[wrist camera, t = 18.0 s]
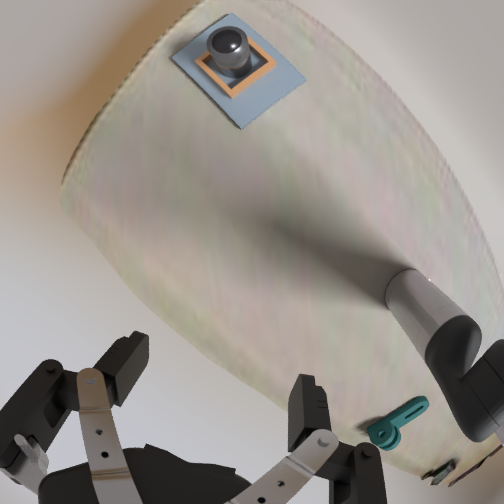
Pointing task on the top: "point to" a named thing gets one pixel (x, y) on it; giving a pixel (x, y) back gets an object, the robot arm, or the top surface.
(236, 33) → the grey capped cylinder
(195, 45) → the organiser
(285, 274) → the top surface
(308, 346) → the top surface
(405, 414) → the bracket
